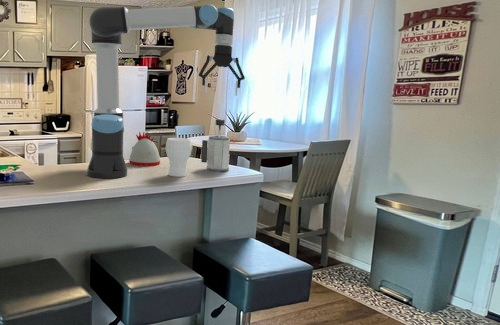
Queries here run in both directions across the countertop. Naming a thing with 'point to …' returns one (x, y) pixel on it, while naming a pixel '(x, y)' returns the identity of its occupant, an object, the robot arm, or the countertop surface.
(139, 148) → the grey and red dome
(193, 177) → the countertop surface
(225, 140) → the carafe
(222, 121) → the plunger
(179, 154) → the cup
